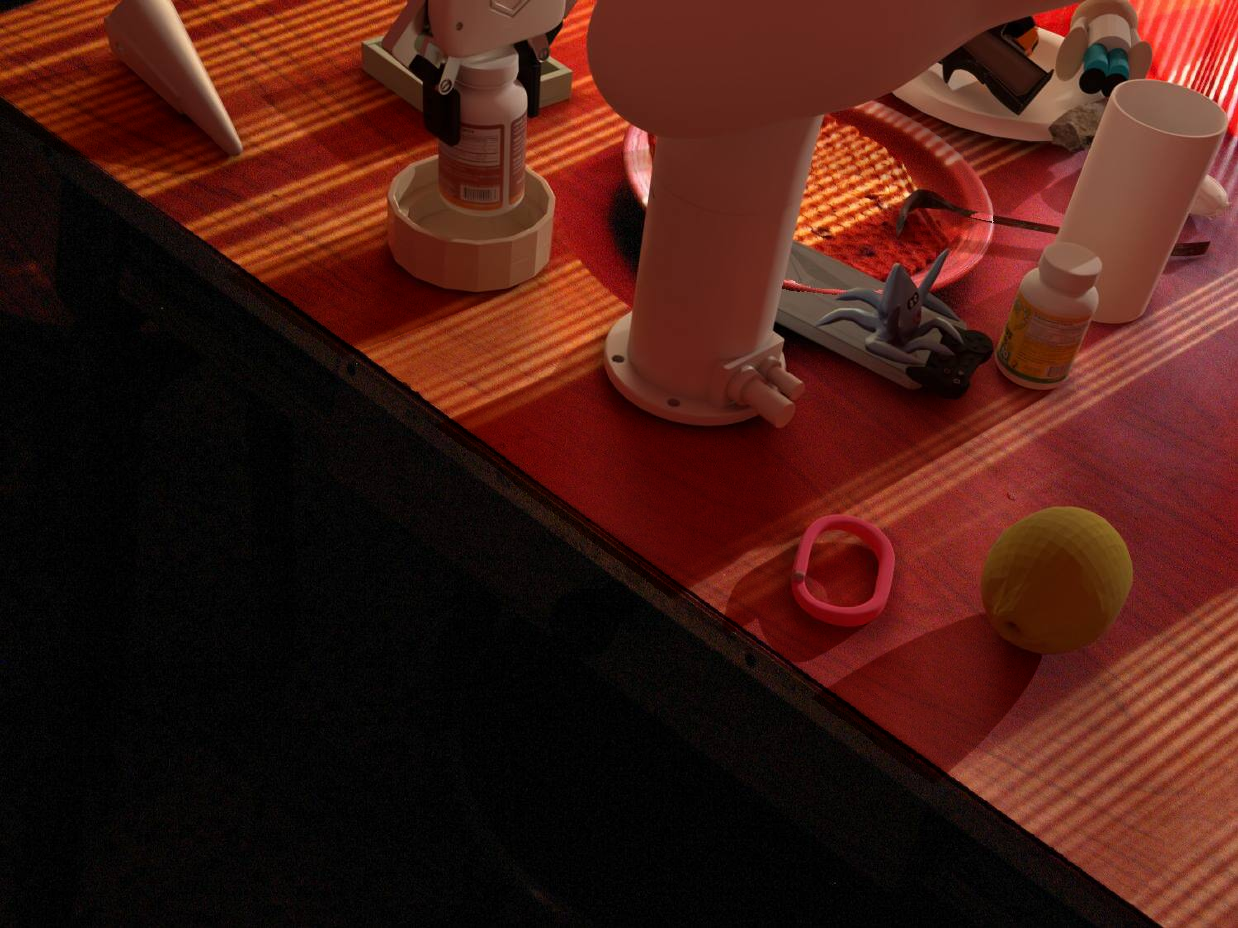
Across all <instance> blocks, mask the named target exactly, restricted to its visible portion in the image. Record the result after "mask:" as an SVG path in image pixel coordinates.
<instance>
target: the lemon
mask: <svg viewBox="0 0 1238 928" xmlns="http://www.w3.org/2000/svg"><path fill="white" fill-rule="evenodd" d="M1133 583H1134V568H1133V561H1132V559H1131V556H1130V553H1129V549H1128V546H1127V543H1126V542H1125V541H1124V539H1123V538H1122V536H1121V535H1120V533H1119V532H1118V531H1117V530H1116V529H1115V527H1114V526H1113V525H1111V524H1110V522H1109V521H1108V520H1107V519H1106V518H1104V517H1102V516H1100V515H1098V514H1097V513H1095V512H1094V511H1091V510H1088V509H1086V508H1082V507H1077V506H1051V507H1050V506H1049V507H1047V508H1044V509H1041V510H1038V511H1035V512H1033V513H1030V514H1028V515H1027V516H1025V517H1023V518H1021V519H1019V520H1018V521H1016V522H1014V523H1013V524H1011V525H1010V526H1008V527H1007V528H1006V529H1005V530H1004V531H1003V532H1002V533H1001V534H1000V535H999V536H998V537H997V539H996V540H995V541H994V543H993V544H992V546H991V547H990V549H989V551H988V553H987V556H986V558H985V562H984V565H983V568H982V572H981V578H980V584H979V587H980V596H981V601H982V605H983V609H984V612H985V614H986V617H987V620H988V621H989V623H990V624H991V625H992V627H993V628H994V629H995V630H996V631H997V633H998V634H999V636H1000V637H1001V638H1002V639H1003V640H1005V641H1008V642H1009V643H1010V644H1012V645H1014V646H1016V647H1018V648H1020V649H1022V650H1025V651H1028V652H1031V653H1035V654H1041V655H1061V654H1067V653H1071V652H1075V651H1077V650H1080V649H1083V648H1086V647H1088V646H1090V645H1092V644H1093V643H1094V642H1095V641H1097V640H1098V639H1099V638H1100V637H1101V636H1102V635H1103V634H1105V633H1106V631H1108V630H1109V629H1110V628H1111V627H1112V625H1113V624H1114V623H1115V621H1116V620H1117V619H1118V616H1119V615H1120V612H1121V611H1122V609H1123V607H1124V605H1125V603H1126V600H1127V599H1128V596H1129V593H1130V592H1131V589H1132V586H1133Z"/></svg>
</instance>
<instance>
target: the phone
mask: <svg viewBox="0 0 1238 928" xmlns="http://www.w3.org/2000/svg"><path fill="white" fill-rule="evenodd" d="M784 279H790V280H793V281H795V282H796V283H798V284H802V285H804V286H808V287H809V286H810V287H811V288H817V289H818V288H820V289H840V290H846V291H847V290H851V289H854V288H857V287H860V288H865V289H871V290H873V291H874V290H875V291H878V290H883V289H884V286H885V283H886V282H884V281H882V280H880V279H877V278H876V277H873V276H871V275H869V274H867V273H865V272H863V271H860V270H859V269H857V268H854V267H852V266H850V265H848V264H846V263H844V262H842V261H839V260H838V259H835V258H833V257H831V256H829V255H827V254H825V253H823V252H821V251H819V250H818V249H815V248H812V247H810V246H808V245H806V244H804V243H802V242H800V241H798V240H796V239H793V242H792V247H791V251H790V256H789V260H788V264H787V269H786V273H785V278H784ZM840 295H841V294H837V295H832V294H823V293H817V292H815V293H813V292H807V291H804V292H802V291H800V292H797V291H789V290H786V289H782V291H781V295H780V300H779V304H778V309H777V313H776V317H775V322H774V323H777V324H779V325H780V326H783V327H785V328H787V329H788V330H791V331H792V332H795V333H797V334H799V335H801V336H803V337H804V338H807V339H808V340H810V341H812V342H815V343H817V344H819V346H820V345H821V346H823V347H824V348H826V349H828V350H830V351H832V352H834V353H836V354H838V355H840V356H842V357H844V358H846V359H848V360H850V361H852V362H854V363H856V364H858V365H860V366H862V367H864V368H865V369H868V370H870V371H871V372H873V373H876V374H878V375H879V376H882V377H884V378H886V379H888V380H889V381H892V382H893V383H895V384H897V385H899V386H901V387H903V388H905V389H908V390H910V391H917V390H920V389H921V388H922V387H924V386H923V385H920V384H919V383H917V382H915V381H913V380H912V379H910V378H909V377H908V376H907V374H906V371H905V370H906V368H907V367H911V366H925V365H910V364H902V363H897V362H893V361H890V360H887V359H885V358H882V357H879V356H877V355H874V354H872V353H870V352H868V351H866V349H865V339H866V338H867V337H868V336H870V335H872V334H873V333H872V332H869V331H867V330H864V329H863V328H861V327H860V326H858V325H857V324H856V323H854V322H851V321H846V320H841V321H838V322H835V323H832V324H828V325H823V326H818V327H813V325H815V324H816V323H817V322H818V321H819V320H820V319H822V318H823V317H824V316H825V315H826V314H828V313H830V312H833V311H835V310H837V309H839V308H853V309H860V310H863V311H866V312H871V313H878V312H877V310H876V309H875V308H873V307H872V306H871V305H870V304H867V303H865V302H863V301H860V300H854V301H841V300H835V299H836V298H837V297H839V296H840ZM938 317H940V318H942V319H944V320H946V321H948V322H949V323H951V324H952V325H955V326H958V327H960V328H962V329H964V330H969V328H968V324H967V322H966V321H965V320H963V319H961V318H959V320H960V321H959V322H958V321H955V320H952V319H949V318H947V317H945V316H943V315H940V314H938V313H936V312H933V311H931V310H929V309H927V308H925V307H924V306H922V317H921V322H920V324H919V327H920V326H921V325H922V324H924V323H926V322H928V321H930V320H932V319H935V318H938ZM919 327H918V328H919ZM922 337H923V338H927V339H931V340H933V341H935V342H938V343H940V340H941V338H942V335H941V333H940V332H939V330H938V328H933V329H932V330H931V331H929V332H928V333H927V334H926V335H924V336H922ZM890 345H891V344H890ZM930 352H931V351H930V350H916V351H915V352H913V353H911V354H909V355H911V356H914V357H916V358H918V359H920V360H921V361H923V362H924V363H926V361H927V359H928V357H929V354H930Z"/></svg>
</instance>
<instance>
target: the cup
mask: <svg viewBox="0 0 1238 928" xmlns="http://www.w3.org/2000/svg"><path fill="white" fill-rule="evenodd" d="M1229 122H1230V121H1229V116H1228V114H1227V112H1226V111H1225V109H1223V107H1221V105H1219V104H1218V103H1217V102H1216V101H1214V100H1213V99H1211V98H1210V97H1208V96H1207V95H1205V94H1204V93H1202V92H1199V91H1197V90H1195V89H1193V88H1190V87H1187V86H1185V85H1182V84H1178V83H1175V82H1172V81H1171V82H1170V81H1166V80H1160V79H1152V78H1145V79H1136V80H1129V81H1125V82H1123V83H1120V84H1119V85H1117V86H1116V87H1115V88H1114V89H1113V91H1112V93H1111V95H1110V98H1109V101H1108V103H1107V106H1106V108H1105V111H1104V114H1103V116H1102V119H1101V121H1100V124H1099V127H1098V129H1097V132H1096V134H1095V137H1094V140H1093V142H1092V145H1091V148H1089V151H1088V153H1087V156H1086V158H1085V161H1084V164H1083V166H1082V169H1081V171H1080V173H1079V177H1078V179H1077V182H1076V185H1075V187H1074V190H1073V193H1072V195H1071V198H1070V200H1069V202H1068V205H1067V208H1066V211H1065V213H1064V216H1063V218H1062V221H1061V224H1060V226H1059V227H1060V229H1059V232H1058V234H1056V236H1055V240H1054V242H1053V243H1056V242H1067V243H1073V244H1077V245H1080V246H1082V247H1085V248H1087V249H1088V250H1090V251H1092V252H1093V253H1094V254H1096V255H1097V257H1098V258H1099V259H1100V261H1101V263H1102V270H1101V272H1100V275H1099V277H1098V281H1097V283H1096V284H1095V285H1094V287H1095V288H1096V290H1097V293H1098V305H1097V308H1096V311H1095V313H1094V315H1093V318H1092V320H1091V322H1097V323H1103V324H1111V325H1113V324H1114V325H1115V324H1116V325H1117V324H1125V323H1130V322H1132V321H1135V320H1138V319H1139V318H1140V317H1142V316H1143V315H1144V314H1145V312H1146V310H1147V307H1148V305H1149V303H1150V301H1151V298H1152V296H1153V294H1154V292H1155V290H1156V288H1157V285H1158V283H1159V281H1160V279H1161V277H1162V274H1163V272H1164V270H1165V268H1166V265H1167V263H1168V262H1169V259H1170V256H1171V255H1170V254H1171V252H1172V250H1173V248H1174V246H1175V244H1176V243H1177V241H1178V239H1179V236H1180V235H1181V232H1182V230H1183V228H1184V225H1185V223H1186V221H1187V219H1188V216H1189V214H1190V213H1189V212H1190V210H1191V208H1192V206H1193V204H1194V201H1195V199H1196V197H1197V195H1198V192H1199V190H1200V188H1201V186H1202V184H1203V181H1204V179H1205V177H1206V175H1207V174H1208V172H1209V171H1210V168H1211V166H1212V163H1213V162H1214V159H1215V156H1216V155H1217V153H1218V150H1219V148H1220V146H1221V144H1222V142H1223V139H1224V137H1225V135H1226V132H1227V131H1228V127H1229Z"/></svg>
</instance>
